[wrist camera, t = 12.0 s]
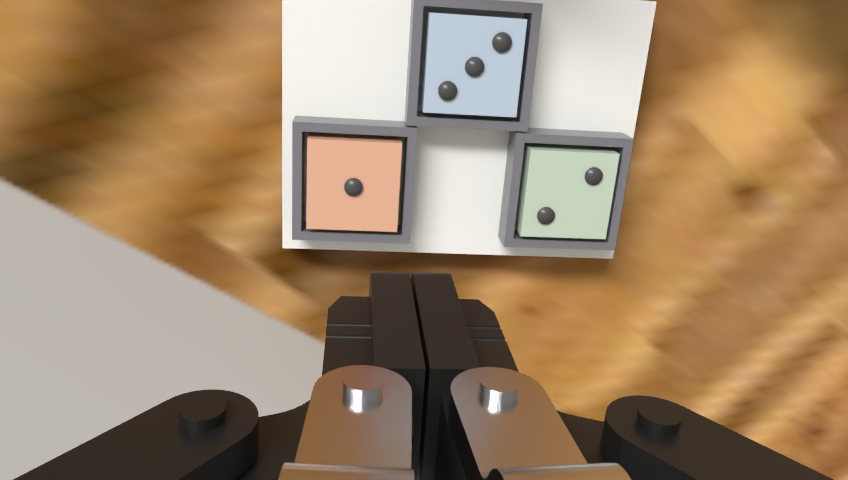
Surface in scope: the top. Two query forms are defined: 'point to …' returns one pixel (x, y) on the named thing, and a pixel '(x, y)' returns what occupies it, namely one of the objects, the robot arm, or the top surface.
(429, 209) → the button panel
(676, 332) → the top surface
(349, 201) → the button one
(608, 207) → the button two
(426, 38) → the button three
